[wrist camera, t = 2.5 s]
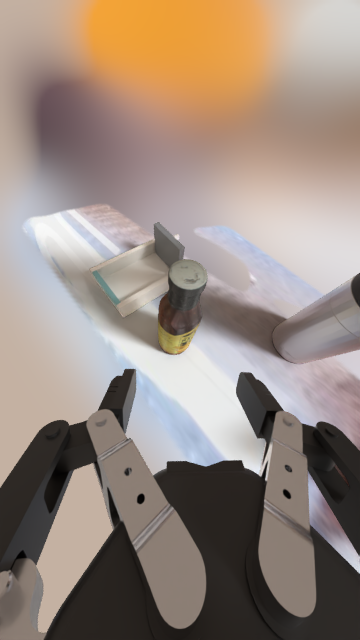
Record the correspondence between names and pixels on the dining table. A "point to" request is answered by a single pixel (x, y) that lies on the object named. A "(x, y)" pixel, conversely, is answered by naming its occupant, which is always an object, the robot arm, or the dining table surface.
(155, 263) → the pusher lane
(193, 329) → the sauce bottle
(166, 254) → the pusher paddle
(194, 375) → the dining table surface
